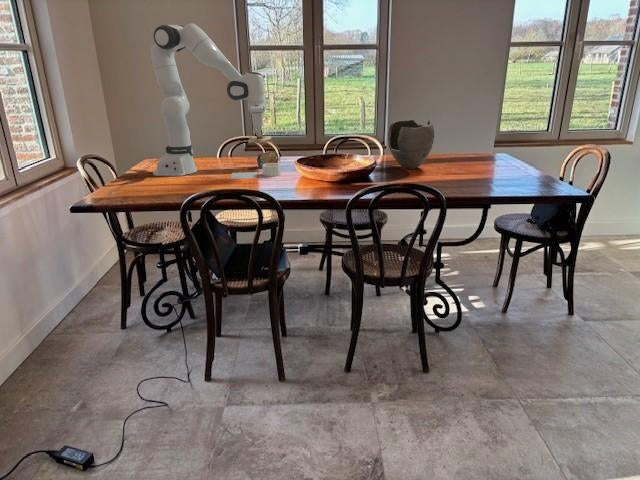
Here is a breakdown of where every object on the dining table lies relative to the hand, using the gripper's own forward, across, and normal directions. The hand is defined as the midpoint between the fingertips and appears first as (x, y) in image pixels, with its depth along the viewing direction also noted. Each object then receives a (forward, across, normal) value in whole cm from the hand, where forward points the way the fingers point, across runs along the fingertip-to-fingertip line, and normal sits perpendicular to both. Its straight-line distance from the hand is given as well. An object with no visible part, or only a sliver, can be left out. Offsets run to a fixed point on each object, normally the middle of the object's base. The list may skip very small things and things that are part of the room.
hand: (259, 135), depth 231 cm
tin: (+21, -20, +2) cm, 29 cm away
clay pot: (+23, -6, +78) cm, 82 cm away
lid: (+2, 0, 0) cm, 2 cm away
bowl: (+20, 0, +4) cm, 21 cm away
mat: (+20, 0, -10) cm, 22 cm away
